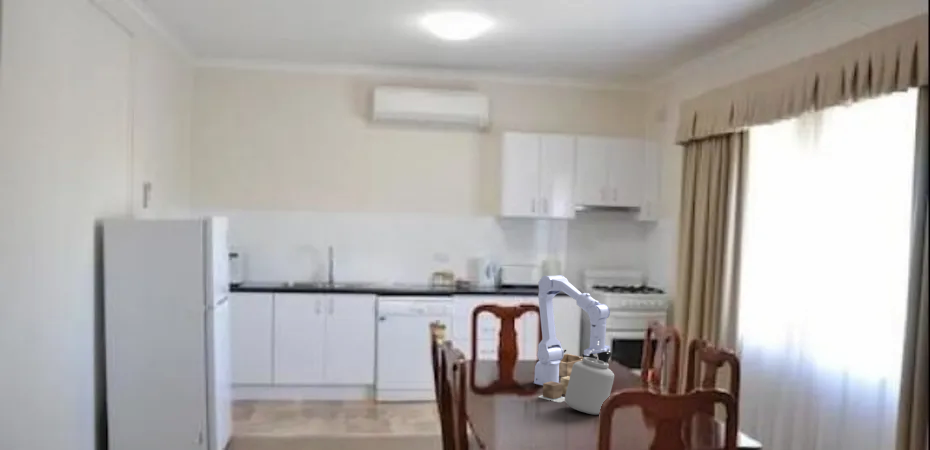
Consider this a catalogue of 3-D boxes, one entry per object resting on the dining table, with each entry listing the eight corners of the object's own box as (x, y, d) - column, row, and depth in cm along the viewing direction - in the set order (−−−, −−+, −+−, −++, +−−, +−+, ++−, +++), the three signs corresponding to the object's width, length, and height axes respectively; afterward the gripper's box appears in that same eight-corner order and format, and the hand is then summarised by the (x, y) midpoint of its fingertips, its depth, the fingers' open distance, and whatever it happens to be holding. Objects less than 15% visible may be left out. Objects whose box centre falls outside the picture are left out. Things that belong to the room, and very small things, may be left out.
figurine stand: (544, 372, 320) (544, 358, 319) (567, 367, 331) (567, 353, 331) (566, 377, 311) (567, 363, 311) (589, 372, 322) (589, 358, 322)
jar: (611, 406, 269) (614, 337, 268) (623, 418, 255) (626, 345, 254) (560, 406, 268) (562, 336, 267) (569, 418, 253) (572, 345, 252)
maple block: (560, 393, 286) (560, 377, 285) (567, 391, 289) (567, 376, 289) (569, 395, 282) (570, 380, 282) (576, 393, 286) (577, 378, 285)
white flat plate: (537, 397, 279) (537, 396, 279) (549, 394, 284) (549, 393, 284) (559, 402, 272) (559, 401, 272) (570, 399, 277) (570, 398, 277)
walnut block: (542, 396, 279) (543, 383, 278) (551, 394, 282) (551, 381, 282) (553, 399, 275) (553, 385, 275) (561, 397, 279) (562, 383, 278)
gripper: (595, 340, 273) (594, 377, 274) (617, 335, 283) (616, 371, 284) (579, 337, 278) (578, 373, 279) (602, 333, 288) (600, 367, 289)
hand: (596, 372), depth 282 cm, fingers open, 7 cm apart
